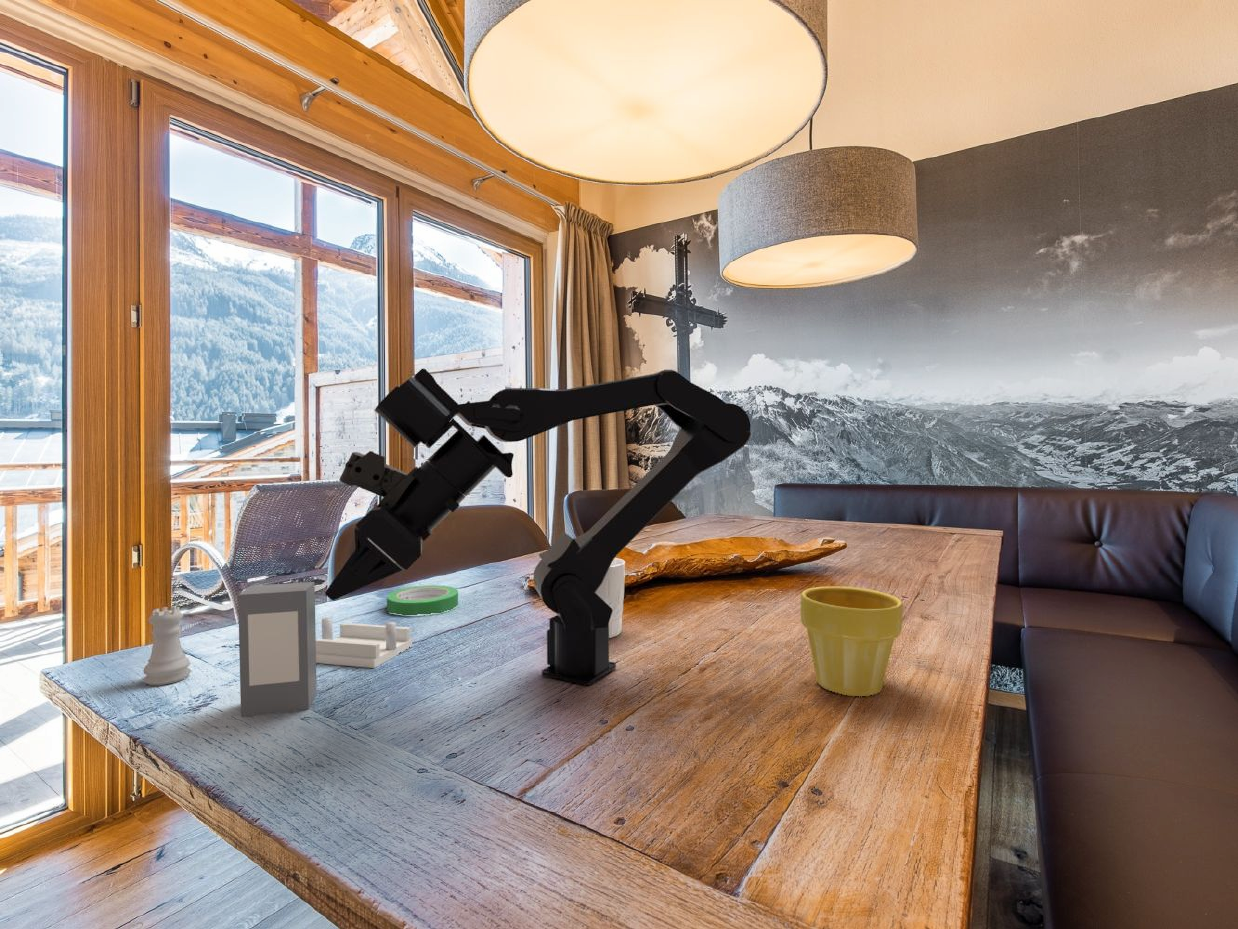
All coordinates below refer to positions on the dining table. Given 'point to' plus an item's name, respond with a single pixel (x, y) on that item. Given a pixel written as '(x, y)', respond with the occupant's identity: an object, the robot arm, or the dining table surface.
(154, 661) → the rook chess piece
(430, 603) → the tape roll
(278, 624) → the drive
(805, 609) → the plant pot
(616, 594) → the white cup
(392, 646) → the tray
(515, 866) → the dining table surface
